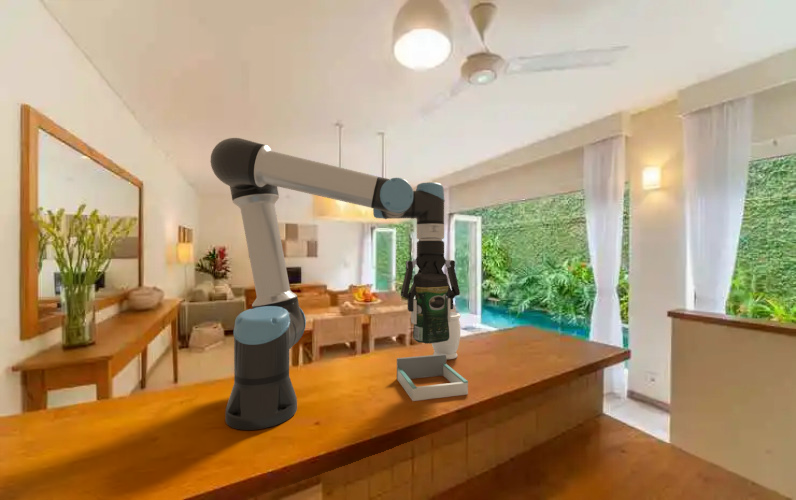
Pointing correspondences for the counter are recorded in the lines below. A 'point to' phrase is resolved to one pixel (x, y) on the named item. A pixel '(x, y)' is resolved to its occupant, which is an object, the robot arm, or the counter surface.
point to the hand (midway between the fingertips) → (430, 322)
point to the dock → (429, 368)
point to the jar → (450, 339)
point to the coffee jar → (431, 308)
